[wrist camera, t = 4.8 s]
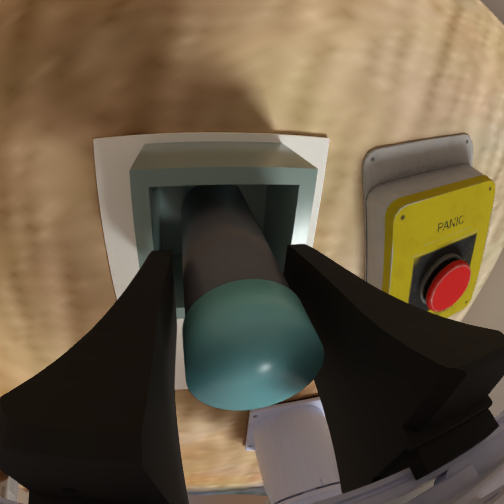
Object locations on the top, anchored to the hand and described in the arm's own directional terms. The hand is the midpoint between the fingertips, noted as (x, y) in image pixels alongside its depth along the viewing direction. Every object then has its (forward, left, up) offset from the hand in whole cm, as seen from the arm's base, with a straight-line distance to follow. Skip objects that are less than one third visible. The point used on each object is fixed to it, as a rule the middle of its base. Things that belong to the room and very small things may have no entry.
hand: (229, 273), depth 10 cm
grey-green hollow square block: (0, 0, -6) cm, 6 cm away
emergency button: (-3, -14, -7) cm, 16 cm away
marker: (0, 0, -5) cm, 5 cm away
